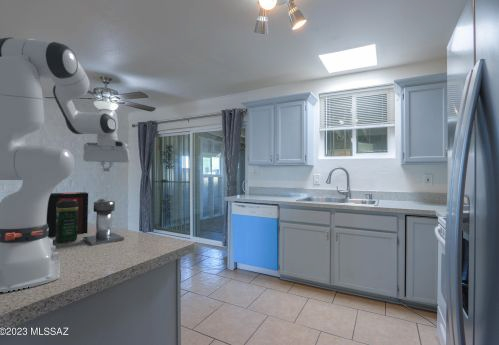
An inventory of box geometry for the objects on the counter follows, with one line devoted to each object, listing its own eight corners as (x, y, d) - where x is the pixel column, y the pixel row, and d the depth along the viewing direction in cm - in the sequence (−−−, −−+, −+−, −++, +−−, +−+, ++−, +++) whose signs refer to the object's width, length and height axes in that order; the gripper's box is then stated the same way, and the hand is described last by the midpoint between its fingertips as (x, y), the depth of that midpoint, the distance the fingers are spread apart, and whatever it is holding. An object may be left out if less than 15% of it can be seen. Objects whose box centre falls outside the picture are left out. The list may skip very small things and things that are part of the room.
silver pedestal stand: (124, 240, 117) (124, 211, 117) (91, 245, 107) (92, 214, 107) (113, 235, 126) (114, 208, 126) (82, 239, 116) (83, 211, 117)
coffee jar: (79, 241, 114) (80, 199, 114) (56, 244, 108) (57, 200, 109) (75, 237, 121) (76, 197, 121) (54, 239, 116) (55, 198, 116)
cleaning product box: (45, 237, 118) (46, 194, 119) (45, 234, 125) (46, 193, 125) (87, 233, 129) (88, 193, 129) (84, 230, 136) (85, 192, 136)
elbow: (116, 212, 116) (116, 201, 116) (94, 213, 111) (94, 202, 111) (111, 208, 128) (111, 198, 128) (91, 209, 123) (91, 199, 123)
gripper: (81, 141, 121) (80, 170, 121) (128, 143, 125) (127, 171, 125) (86, 142, 127) (85, 170, 127) (131, 144, 132) (130, 171, 132)
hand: (106, 171), depth 126 cm, fingers closed
